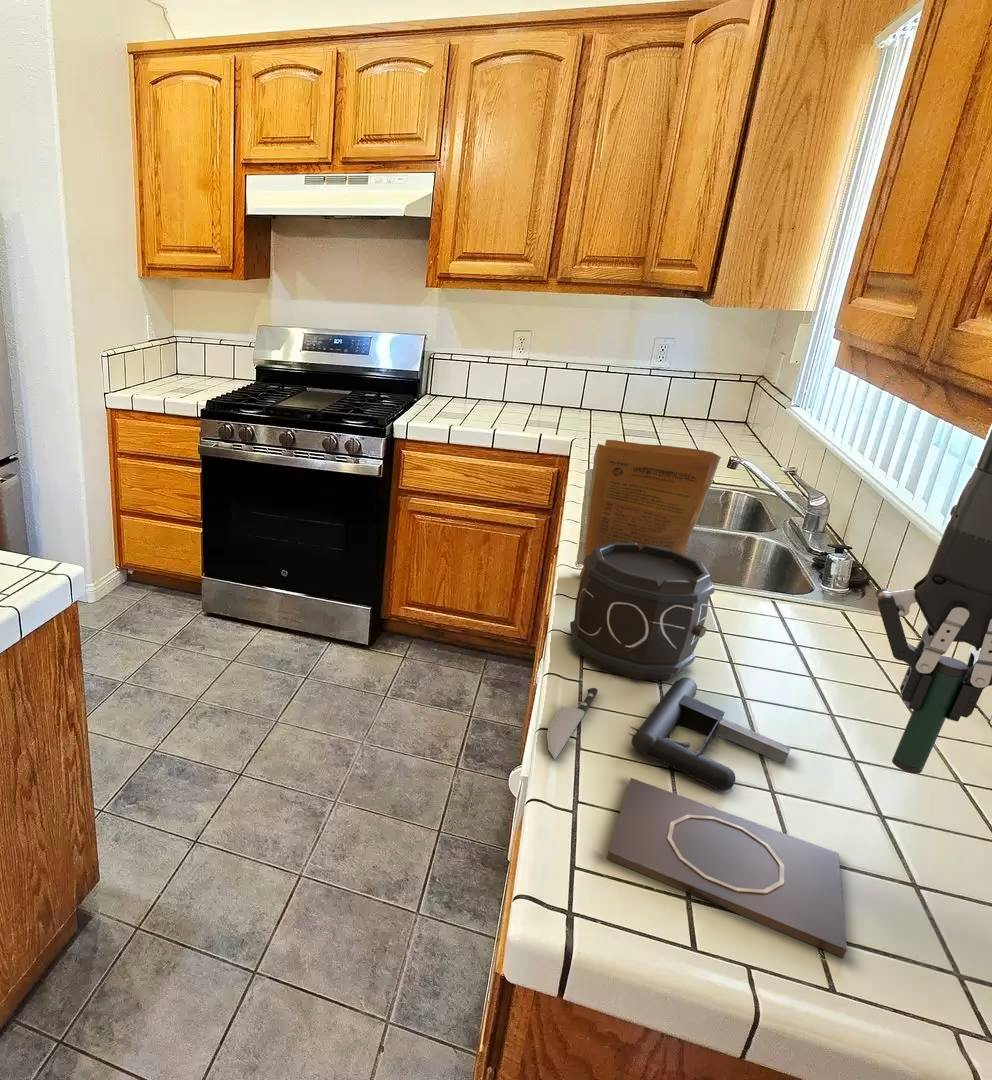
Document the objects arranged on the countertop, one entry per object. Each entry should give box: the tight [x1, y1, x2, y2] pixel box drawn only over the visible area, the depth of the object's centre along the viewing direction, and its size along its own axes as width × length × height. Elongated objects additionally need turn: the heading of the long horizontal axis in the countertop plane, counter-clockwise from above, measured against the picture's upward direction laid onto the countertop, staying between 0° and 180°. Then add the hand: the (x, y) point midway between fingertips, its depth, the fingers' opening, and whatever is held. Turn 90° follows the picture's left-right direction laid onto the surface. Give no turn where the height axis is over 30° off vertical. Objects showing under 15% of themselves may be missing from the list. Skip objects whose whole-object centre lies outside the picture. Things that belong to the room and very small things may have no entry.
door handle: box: [627, 676, 792, 791], centre depth 95 cm, size 3×20×16 cm
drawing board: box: [605, 777, 848, 958], centre depth 77 cm, size 20×14×1 cm
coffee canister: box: [569, 542, 715, 681], centre depth 114 cm, size 18×18×16 cm
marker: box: [891, 655, 969, 774], centre depth 67 cm, size 2×2×11 cm
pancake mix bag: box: [579, 439, 722, 578], centre depth 134 cm, size 7×19×28 cm, turn 57°
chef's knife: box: [546, 687, 599, 760], centre depth 99 cm, size 19×1×3 cm
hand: (931, 710), depth 67 cm, fingers closed on marker, 2 cm apart
